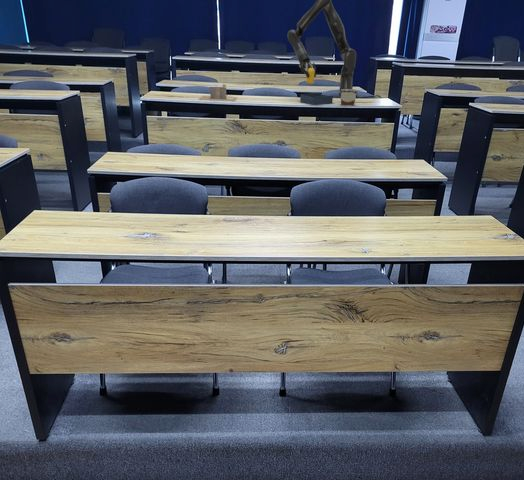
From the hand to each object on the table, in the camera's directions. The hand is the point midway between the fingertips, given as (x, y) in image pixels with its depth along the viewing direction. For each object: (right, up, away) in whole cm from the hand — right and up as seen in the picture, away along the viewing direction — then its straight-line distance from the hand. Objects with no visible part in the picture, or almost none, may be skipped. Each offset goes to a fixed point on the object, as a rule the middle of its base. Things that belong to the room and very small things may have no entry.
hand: (312, 76), depth 375 cm
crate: (+4, -17, +5) cm, 18 cm away
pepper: (-1, -3, +3) cm, 5 cm away
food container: (+25, -21, 0) cm, 33 cm away
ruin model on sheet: (-68, -12, +8) cm, 70 cm away
